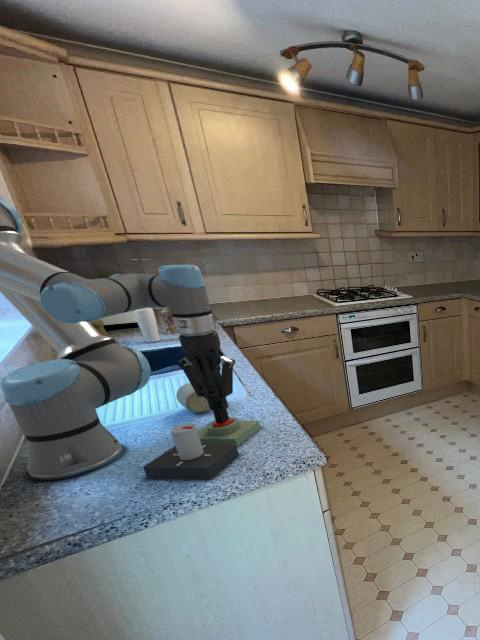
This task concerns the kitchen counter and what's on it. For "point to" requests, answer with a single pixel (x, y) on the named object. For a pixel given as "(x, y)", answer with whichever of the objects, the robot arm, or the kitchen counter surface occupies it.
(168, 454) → the panel
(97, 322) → the pepper shaker
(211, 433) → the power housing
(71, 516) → the kitchen counter surface
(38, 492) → the kitchen counter surface
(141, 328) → the drinking glass
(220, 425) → the power button
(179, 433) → the timer dial
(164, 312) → the figurine
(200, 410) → the ceramic mug
